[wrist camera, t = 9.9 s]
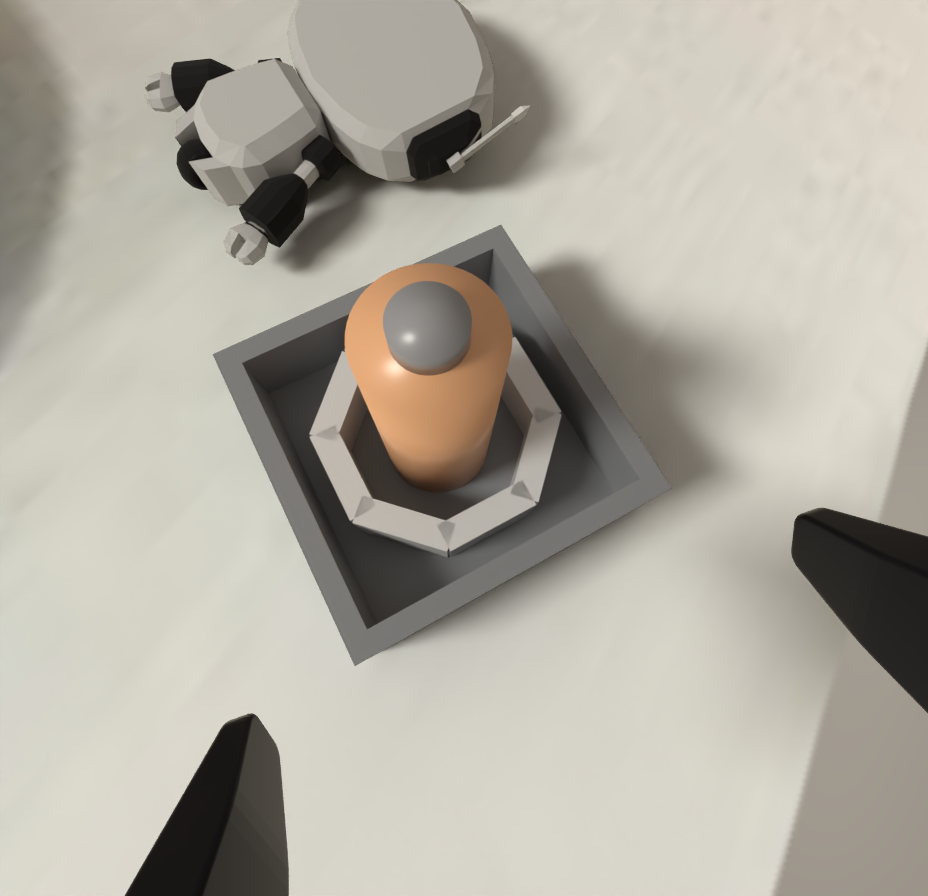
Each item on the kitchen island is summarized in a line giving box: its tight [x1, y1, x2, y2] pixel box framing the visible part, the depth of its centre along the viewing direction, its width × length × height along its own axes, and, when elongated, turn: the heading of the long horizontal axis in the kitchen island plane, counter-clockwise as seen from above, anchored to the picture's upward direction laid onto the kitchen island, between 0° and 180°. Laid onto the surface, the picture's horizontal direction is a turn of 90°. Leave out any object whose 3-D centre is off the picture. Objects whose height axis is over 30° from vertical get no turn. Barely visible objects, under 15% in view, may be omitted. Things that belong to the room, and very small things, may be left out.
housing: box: [213, 225, 671, 666], centre depth 21 cm, size 12×12×4 cm
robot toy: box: [145, 0, 530, 265], centre depth 26 cm, size 12×4×15 cm
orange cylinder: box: [345, 263, 513, 493], centre depth 17 cm, size 4×4×10 cm
